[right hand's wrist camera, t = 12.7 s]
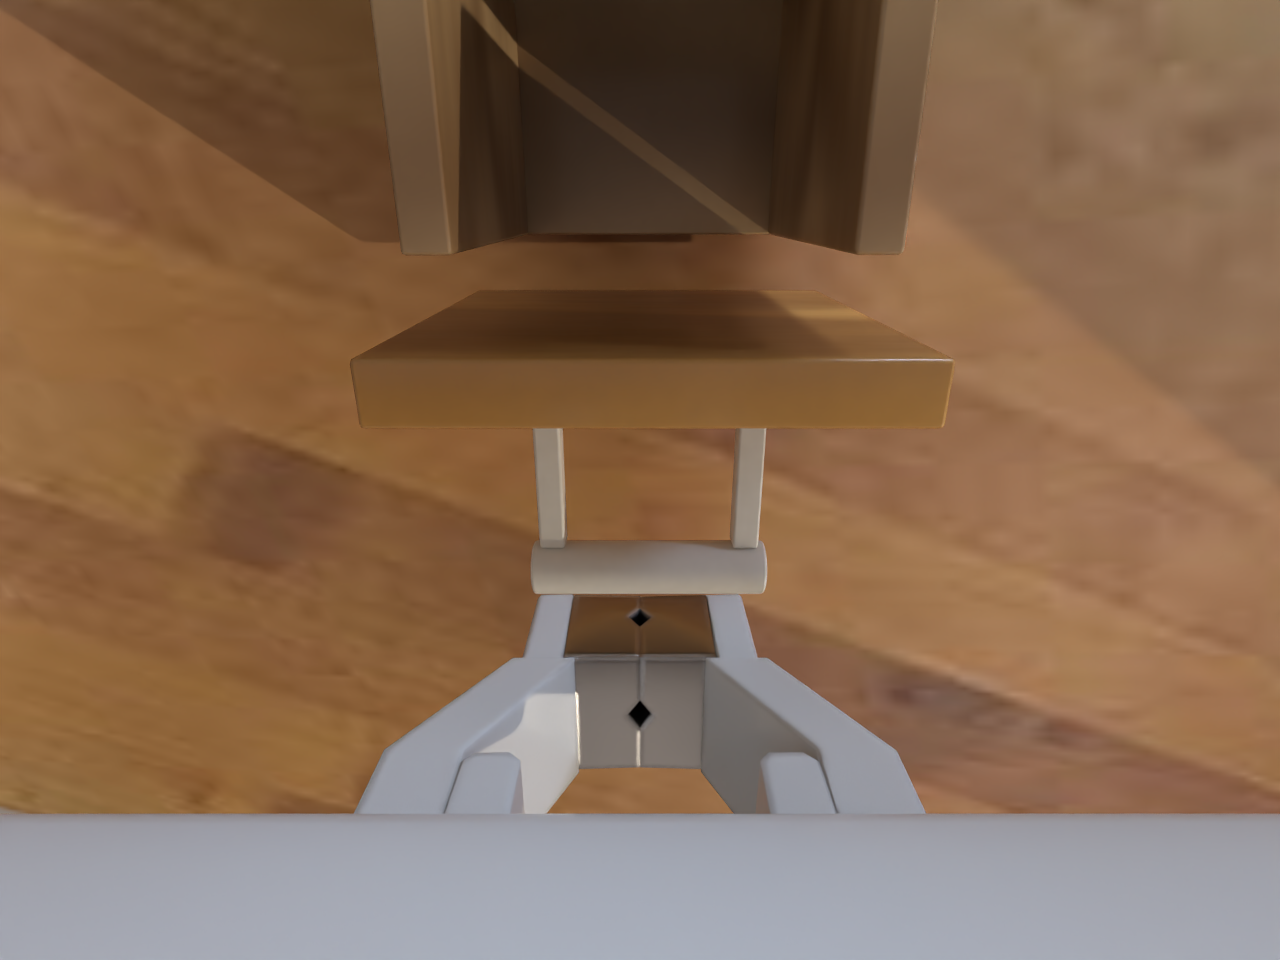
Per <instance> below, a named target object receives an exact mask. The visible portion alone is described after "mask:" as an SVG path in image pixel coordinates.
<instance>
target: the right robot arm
mask: <svg viewBox="0 0 1280 960" xmlns="http://www.w3.org/2000/svg"><path fill="white" fill-rule="evenodd" d="M628 767H650V768H686V769H701V772H702V774H703V775H704V776H705V777H706V779H707V780H708V781H709V782H710V784H711V785H712V786H713V788H714V789H715V790H716V791H717V793H718V794H719V795H720V796H721V798H722V799H723V800H724V801H725V803H726V804H727V805H728V807H729V808H730V809H731V810H732V812H733V813H734V814H546V813H547V812H548V811H549V810H550V808H551V807H552V806H553V805H554V803H555V802H556V801H557V800H558V798H559V797H560V796H561V794H562V793H563V792H564V791H565V789H566V788H567V787H568V786H569V784H570V783H571V782H572V781H573V779H574V778H575V777H576V775H577V774H578V773H579V769H593V768H628ZM0 960H1280V814H926V812H925V810H924V808H923V806H922V804H921V802H920V799H919V797H918V795H917V793H916V791H915V789H914V787H913V785H912V782H911V780H910V778H909V776H908V774H907V772H906V770H905V768H904V765H903V763H902V761H901V759H900V757H899V755H898V753H897V751H896V750H895V749H894V748H892V747H891V746H889V745H888V744H887V743H885V742H884V741H882V740H881V739H880V738H878V737H877V736H875V735H874V734H873V733H871V732H870V731H868V730H867V729H866V728H864V727H863V726H861V725H860V724H859V723H857V722H856V721H855V720H853V719H852V718H850V717H849V716H848V715H846V714H845V713H843V712H842V711H841V710H839V709H838V708H836V707H835V706H834V705H832V704H831V703H829V702H828V701H827V700H825V699H824V698H822V697H821V696H820V695H818V694H817V693H815V692H814V691H813V690H811V689H810V688H809V687H807V686H806V685H804V684H803V683H802V682H800V681H799V680H797V679H796V678H795V677H793V676H792V675H790V674H789V673H788V672H786V671H785V670H783V669H782V668H781V667H779V666H778V665H776V664H775V663H774V662H772V661H771V660H769V659H768V658H758V657H757V654H756V650H755V646H754V642H753V639H752V635H751V631H750V627H749V624H748V620H747V616H746V612H745V609H744V605H743V601H742V597H741V596H740V595H738V594H726V595H693V596H652V597H640V596H612V595H575V596H573V594H558V595H541V596H540V597H539V598H538V600H537V604H536V608H535V612H534V616H533V619H532V623H531V627H530V631H529V635H528V638H527V642H526V646H525V650H524V654H523V657H522V658H512V659H511V660H509V661H508V662H506V663H505V664H504V665H502V666H501V667H499V668H498V669H497V670H495V671H494V672H492V673H491V674H490V675H488V676H487V677H485V678H484V679H483V680H481V681H480V682H478V683H477V684H476V685H474V686H473V687H471V688H470V689H469V690H467V691H466V692H464V693H463V694H462V695H460V696H459V697H457V698H456V699H455V700H453V701H452V702H450V703H449V704H448V705H446V706H445V707H443V708H442V709H441V710H439V711H438V712H436V713H435V714H434V715H432V716H431V717H429V718H428V719H427V720H425V721H424V722H422V723H421V724H420V725H418V726H417V727H415V728H414V729H413V730H411V731H410V732H408V733H407V734H406V735H404V736H403V737H401V738H400V739H398V740H397V741H396V742H394V743H393V744H391V745H390V746H389V747H387V748H386V749H384V751H383V753H382V756H381V758H380V760H379V762H378V764H377V766H376V768H375V770H374V772H373V774H372V776H371V779H370V781H369V783H368V785H367V787H366V789H365V791H364V793H363V795H362V797H361V800H360V802H359V804H358V806H357V808H356V810H355V812H354V814H0Z"/></svg>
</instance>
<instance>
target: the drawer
mask: <svg viewBox="0 0 1280 960" xmlns="http://www.w3.org/2000/svg"><path fill="white" fill-rule="evenodd" d="M370 6H371V14H372V22H373V30H374V38H375V46H376V54H377V62H378V70H379V78H380V86H381V94H382V102H383V110H384V118H385V126H386V134H387V142H388V150H389V158H390V166H391V174H392V182H393V190H394V198H395V206H396V214H397V222H398V230H399V238H400V246H401V252H402V254H404V255H451V254H455V253H459V252H462V251H466V250H470V249H474V248H477V247H481V246H485V245H489V244H492V243H496V242H500V241H504V240H507V239H511V238H515V237H519V236H522V235H526V234H771V235H775V236H780V237H784V238H788V239H792V240H797V241H801V242H805V243H809V244H814V245H818V246H822V247H826V248H831V249H835V250H839V251H843V252H848V253H852V254H856V255H899V254H901V253H903V251H904V247H905V240H906V233H907V225H908V218H909V211H910V204H911V196H912V189H913V182H914V174H915V167H916V160H917V152H918V145H919V138H920V131H921V123H922V116H923V109H924V101H925V94H926V87H927V79H928V72H929V65H930V58H931V50H932V43H933V36H934V28H935V21H936V14H937V7H938V0H370ZM350 367H351V373H352V379H353V385H354V392H355V398H356V404H357V410H358V416H359V423H360V426H361V427H362V428H366V429H533V443H534V459H535V475H536V491H537V507H538V523H539V539H540V540H537V541H535V543H534V545H533V548H532V555H531V584H532V589H533V591H534V593H536V594H761V593H763V592H764V590H765V587H766V582H767V557H766V550H765V547H764V544H763V542H762V541H760V540H758V537H759V524H760V510H761V496H762V482H763V468H764V454H765V440H766V428H942V427H943V426H944V424H945V419H946V413H947V407H948V402H949V396H950V390H951V384H952V379H953V373H954V367H955V361H954V359H952V358H950V357H948V356H946V355H944V354H942V353H940V352H938V351H936V350H934V349H932V348H930V347H928V346H926V345H924V344H922V343H920V342H918V341H916V340H914V339H912V338H910V337H908V336H906V335H904V334H902V333H900V332H898V331H896V330H894V329H892V328H890V327H888V326H886V325H884V324H882V323H880V322H878V321H876V320H874V319H872V318H870V317H868V316H866V315H864V314H862V313H860V312H858V311H856V310H854V309H852V308H850V307H847V306H845V305H843V304H841V303H839V302H837V301H835V300H833V299H831V298H829V297H827V296H825V295H823V294H821V293H819V292H817V291H815V290H509V291H478V292H476V293H474V294H472V295H470V296H469V297H467V298H465V299H463V300H461V301H459V302H457V303H455V304H454V305H452V306H450V307H448V308H446V309H444V310H442V311H441V312H439V313H437V314H435V315H433V316H431V317H429V318H428V319H426V320H424V321H422V322H420V323H418V324H416V325H415V326H413V327H411V328H409V329H407V330H405V331H403V332H401V333H400V334H398V335H396V336H394V337H392V338H390V339H388V340H387V341H385V342H383V343H381V344H379V345H377V346H375V347H374V348H372V349H370V350H368V351H366V352H364V353H362V354H360V355H359V356H357V357H355V358H353V359H351V362H350ZM669 428H736V432H735V451H734V469H733V487H732V506H731V524H730V539H731V540H567V516H566V494H565V472H564V449H563V429H669Z"/></svg>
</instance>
